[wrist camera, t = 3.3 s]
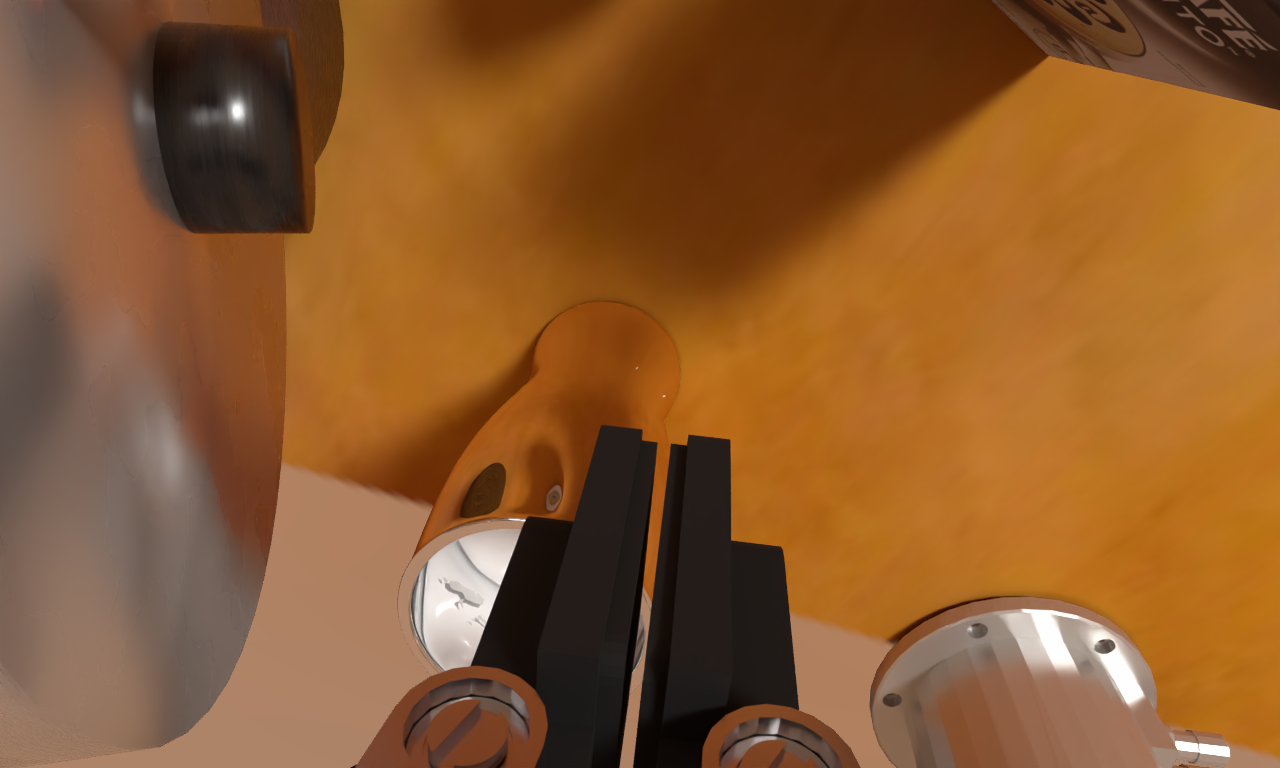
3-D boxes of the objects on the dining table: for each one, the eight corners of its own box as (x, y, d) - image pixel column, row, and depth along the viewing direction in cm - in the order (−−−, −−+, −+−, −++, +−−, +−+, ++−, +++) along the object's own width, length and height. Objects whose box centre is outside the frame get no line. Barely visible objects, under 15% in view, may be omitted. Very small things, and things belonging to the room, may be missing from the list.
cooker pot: (363, -343, 24) (146, -537, 15) (404, 310, 33) (285, 431, 24) (-197, -377, 25) (-715, -577, 16) (-6, 267, 34) (-266, 368, 25)
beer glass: (634, 470, 35) (576, 766, 22) (494, 388, 34) (345, 647, 21) (725, 349, 33) (723, 607, 19) (576, 255, 31) (463, 459, 18)
